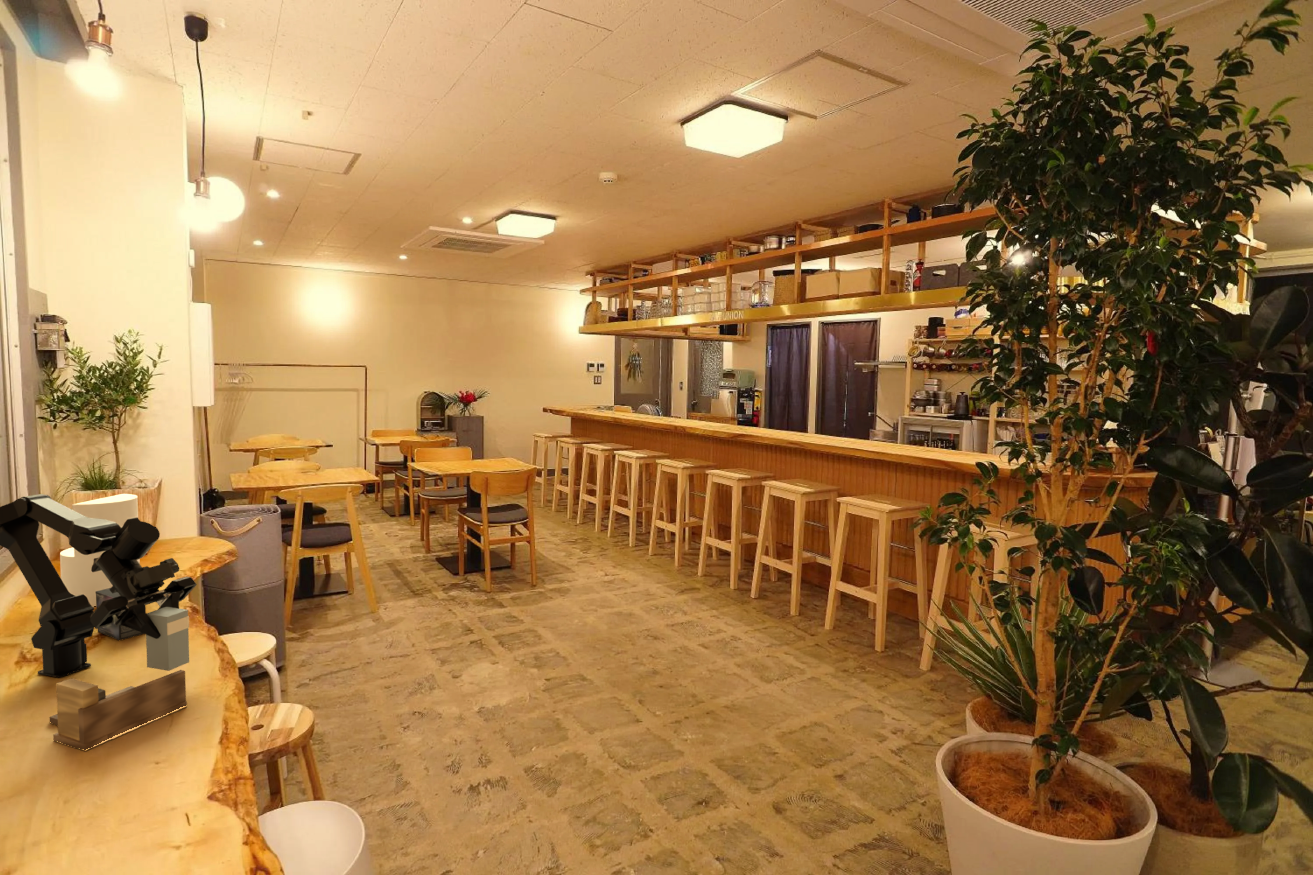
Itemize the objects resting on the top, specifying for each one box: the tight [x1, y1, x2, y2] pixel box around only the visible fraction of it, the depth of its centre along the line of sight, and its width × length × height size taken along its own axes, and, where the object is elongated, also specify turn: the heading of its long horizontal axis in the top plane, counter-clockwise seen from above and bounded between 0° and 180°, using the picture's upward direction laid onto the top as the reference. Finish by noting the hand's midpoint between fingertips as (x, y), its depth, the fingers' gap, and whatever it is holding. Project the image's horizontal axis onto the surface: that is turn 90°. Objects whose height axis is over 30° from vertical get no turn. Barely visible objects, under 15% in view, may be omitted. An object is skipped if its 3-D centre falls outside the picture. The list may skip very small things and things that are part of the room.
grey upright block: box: [145, 607, 190, 672], centre depth 141 cm, size 5×6×11 cm
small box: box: [95, 588, 147, 641], centre depth 170 cm, size 11×6×10 cm, turn 62°
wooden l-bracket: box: [49, 669, 188, 750], centre depth 128 cm, size 18×16×10 cm
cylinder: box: [59, 493, 141, 608], centre depth 194 cm, size 17×17×28 cm
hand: (170, 633), depth 140 cm, fingers closed on grey upright block, 4 cm apart
